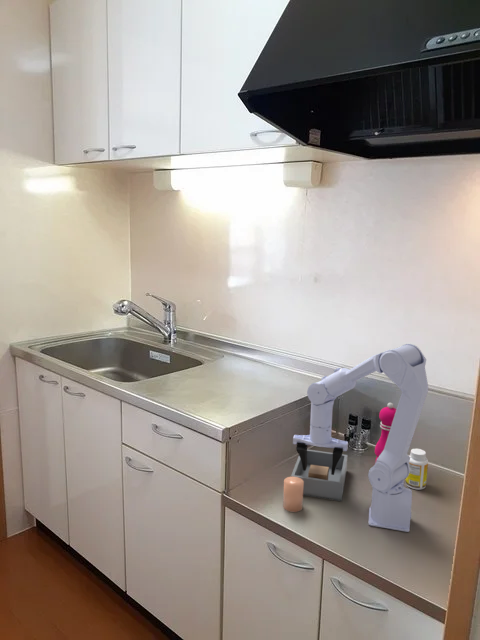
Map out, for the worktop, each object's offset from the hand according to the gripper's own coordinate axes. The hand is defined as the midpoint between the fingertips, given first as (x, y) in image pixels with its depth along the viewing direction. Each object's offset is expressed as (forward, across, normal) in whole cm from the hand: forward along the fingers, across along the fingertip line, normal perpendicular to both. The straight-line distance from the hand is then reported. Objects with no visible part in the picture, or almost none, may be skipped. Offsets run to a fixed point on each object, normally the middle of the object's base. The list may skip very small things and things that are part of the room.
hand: (318, 471), depth 137 cm
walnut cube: (+5, 0, 0) cm, 5 cm away
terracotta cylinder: (+5, +5, +11) cm, 13 cm away
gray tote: (+5, 0, -4) cm, 7 cm away
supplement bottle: (+5, -26, -10) cm, 28 cm away
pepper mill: (+5, -18, -20) cm, 27 cm away
